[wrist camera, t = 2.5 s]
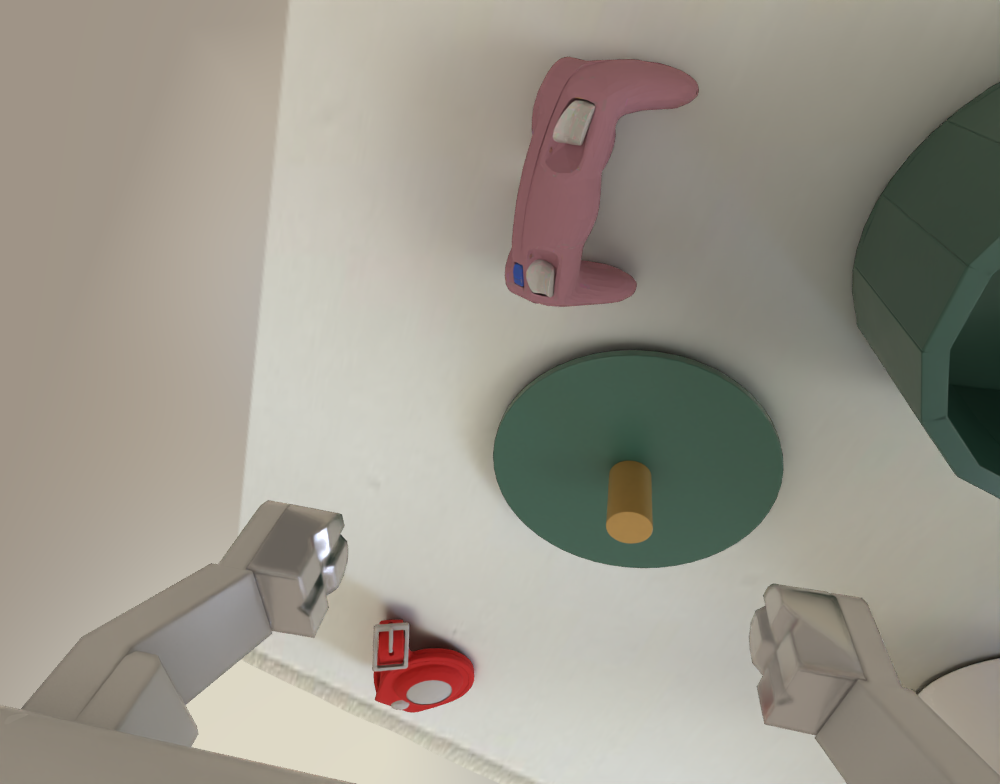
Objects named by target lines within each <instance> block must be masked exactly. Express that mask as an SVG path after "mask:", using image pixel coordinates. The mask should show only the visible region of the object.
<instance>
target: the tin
mask: <svg viewBox="0 0 1000 784" xmlns="http://www.w3.org/2000/svg"><path fill="white" fill-rule="evenodd" d="M852 293H853V300H854V307H855V312H856V319H857V325H858V328H859V329H860V331H861V332H862V334H863V335H864V337H865V338H866V340H867V341H868V343H869V344H870V346H871V348H872V349H873V351H874V352H875V354H876V355H877V357H878V358H879V360H880V361H881V363H882V365H883V366H884V368H885V369H886V371H887V372H888V374H889V375H890V377H891V378H892V380H893V381H894V383H895V385H896V386H897V388H898V389H899V391H900V392H901V394H902V395H903V397H904V398H905V400H906V401H907V403H908V405H909V406H910V408H911V409H912V411H913V412H914V414H915V415H916V417H917V418H918V420H919V421H920V423H921V425H922V426H923V427H924V429H925V430H926V432H927V433H928V435H929V436H930V438H931V439H932V441H933V442H934V444H935V445H936V447H937V448H938V450H939V451H940V453H941V454H942V456H943V457H944V459H945V460H946V462H947V463H948V464H949V466H950V467H951V469H952V470H953V472H954V473H955V475H956V476H957V477H959V478H961V479H963V480H965V481H967V482H968V483H970V484H972V485H974V486H976V487H978V488H980V489H982V490H984V491H986V492H988V493H990V494H992V495H994V496H996V497H997V498H999V499H1000V82H999V83H998V84H996V85H994V86H993V87H991V88H989V89H988V90H986V91H985V92H983V93H982V94H981V95H979V96H978V97H976V98H975V99H974V100H972V101H971V102H969V103H968V104H967V105H965V106H964V107H962V108H961V109H960V110H958V111H957V112H956V113H955V114H954V115H952V116H951V117H950V118H949V119H948V120H947V121H945V122H944V123H943V124H942V125H941V126H940V127H938V128H937V129H936V130H935V131H934V132H933V133H932V134H931V135H930V136H929V137H928V138H927V139H926V140H925V141H924V142H923V143H922V144H921V145H920V146H919V147H918V148H917V149H916V150H915V151H914V152H913V153H912V154H911V155H910V156H909V158H908V159H907V160H906V161H905V163H904V164H903V165H902V166H901V168H900V169H899V170H898V171H897V173H896V174H895V175H894V177H893V178H892V179H891V180H890V182H889V184H888V185H887V187H886V188H885V190H884V191H883V193H882V195H881V196H880V198H879V199H878V201H877V202H876V204H875V206H874V208H873V210H872V212H871V214H870V217H869V219H868V221H867V223H866V225H865V227H864V230H863V233H862V236H861V239H860V242H859V245H858V248H857V251H856V257H855V262H854V268H853V284H852Z"/></svg>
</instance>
